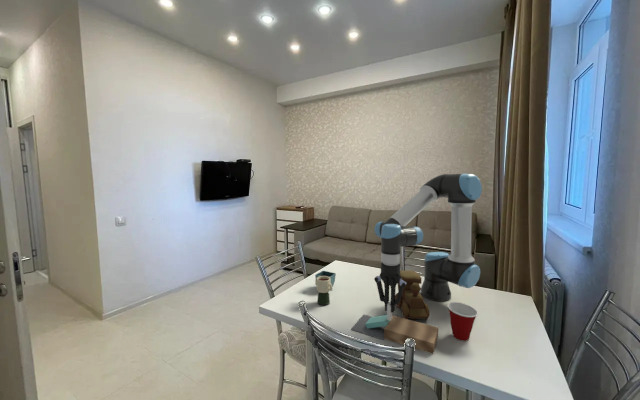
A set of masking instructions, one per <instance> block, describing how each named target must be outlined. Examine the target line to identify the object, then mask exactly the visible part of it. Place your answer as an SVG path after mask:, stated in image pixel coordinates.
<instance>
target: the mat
mask: <svg viewBox="0 0 640 400" xmlns="http://www.w3.org/2000/svg"><path fill="white" fill-rule="evenodd" d="M371 317H372V316H370V315H367V314H363V315H361V317H360V318H359V319H358V320H357V322H355V323H354V325H353V326H352V327H351V328H350V331H354V332H357V333H360V334H363V335H366V336H369V337H373V338H376V339H379V340H382V341H384V340H385V339H384V329H385V328H386V326H382V327H375V328H368V329H367V327H366V322H367V321H368V320H369V319H370V318H371Z"/></svg>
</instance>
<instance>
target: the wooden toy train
mask: <svg viewBox="0 0 640 400" xmlns="http://www.w3.org/2000/svg"><path fill="white" fill-rule="evenodd" d="M400 276H401V279H402V280H403V281H406V282H407V284H406V285H405V286H404V289H403V292H402V296H401V299H400V302H399V304H398V305H395V307H397V309H401V315H402V318H404V319H408V320H413V319H415V320H416V319H418V320H419V319H420V320H421V319H424V320H428V319H429V318H430V315H431V313H430V312H431V311H430V308H429V305H428V304H427V303H426V302H425V299H424V297H423V296H422V295H421V286H420V285H422V277H421V275H420V274H419V273H418V272H417V271H414V270H400ZM399 288H400V282H398V283H397V290H398V291H399ZM397 295H398V292H395V300H396V298H397Z"/></svg>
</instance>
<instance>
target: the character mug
mask: <svg viewBox="0 0 640 400" xmlns="http://www.w3.org/2000/svg"><path fill="white" fill-rule="evenodd" d="M314 282H315V287H316V288H315V289H316V291H317V292H318V294H317V301H316V302H317V304H318V305H321V306H325V305H328V304H330V292H331V291H333V287H332V284H331V279H330V277H328V276H319V277H317V279H316V278H315V279H314Z"/></svg>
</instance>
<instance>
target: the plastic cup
mask: <svg viewBox="0 0 640 400" xmlns="http://www.w3.org/2000/svg"><path fill="white" fill-rule="evenodd" d="M447 309H448V312H449V318H450V319H449V321H450V326H451V333H452V337H455V338H454V339H457V340H458V341H461V340H463V341H462V342H466V340H467V341H469V339H470V337H471V333H472V329H473V327H474V322H475V319H476V318H477V316H478V315H479V312H478V310H477V309H476V308H474V307H473V306H471V305H470V304H466V303H463V302H457V301H452V302H451V301H450V302H449V303H447Z"/></svg>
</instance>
